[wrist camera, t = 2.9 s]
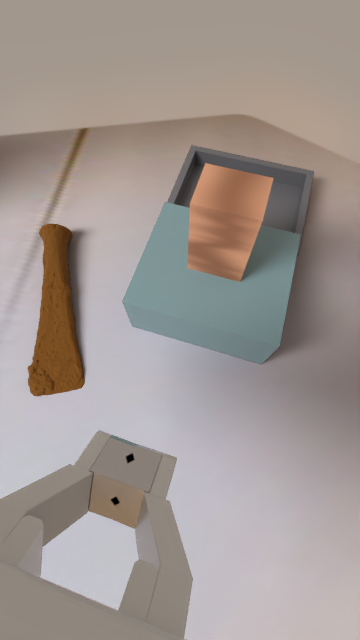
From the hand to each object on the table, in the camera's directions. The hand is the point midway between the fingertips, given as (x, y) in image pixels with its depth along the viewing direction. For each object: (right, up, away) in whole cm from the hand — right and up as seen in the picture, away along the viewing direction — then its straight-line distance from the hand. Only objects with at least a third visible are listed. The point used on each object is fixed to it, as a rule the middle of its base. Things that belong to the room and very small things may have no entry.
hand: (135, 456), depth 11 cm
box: (+9, +19, +27) cm, 34 cm away
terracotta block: (+5, +11, +17) cm, 21 cm away
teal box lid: (+5, +8, +22) cm, 24 cm away
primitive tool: (-11, +6, +22) cm, 26 cm away
